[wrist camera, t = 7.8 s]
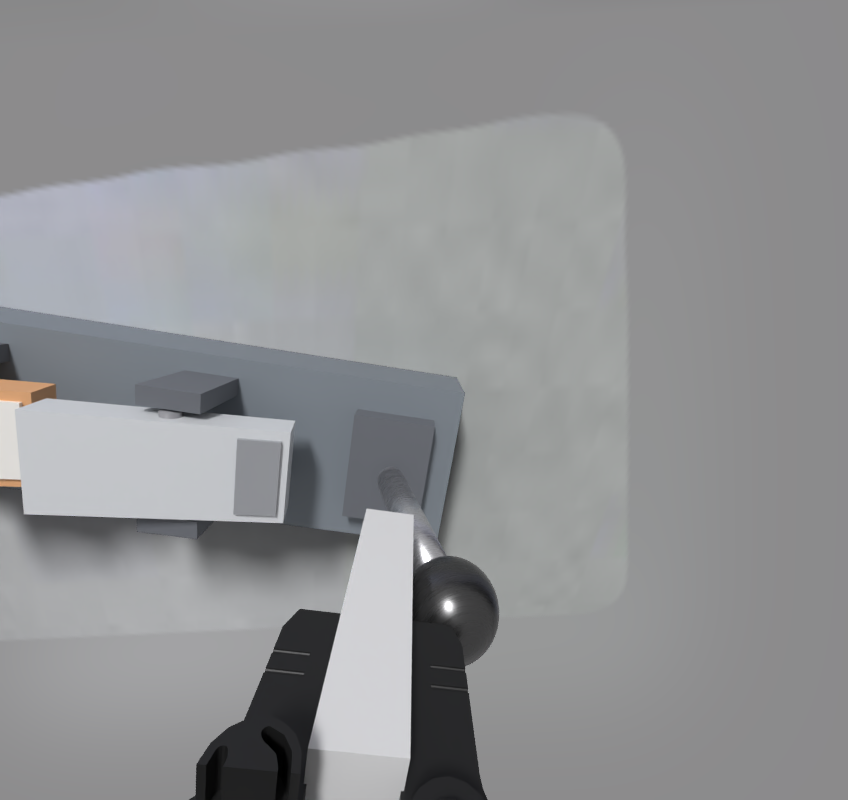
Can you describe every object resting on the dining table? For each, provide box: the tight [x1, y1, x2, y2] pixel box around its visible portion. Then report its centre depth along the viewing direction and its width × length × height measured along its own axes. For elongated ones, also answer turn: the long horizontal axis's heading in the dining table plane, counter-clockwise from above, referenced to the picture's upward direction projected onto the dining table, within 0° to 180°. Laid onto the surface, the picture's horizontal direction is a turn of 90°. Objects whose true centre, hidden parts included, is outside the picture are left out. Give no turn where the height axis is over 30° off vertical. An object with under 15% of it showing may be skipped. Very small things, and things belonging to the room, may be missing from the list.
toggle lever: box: [377, 467, 499, 666], centre depth 13 cm, size 3×3×9 cm
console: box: [0, 307, 465, 539], centre depth 19 cm, size 32×8×7 cm, turn 81°
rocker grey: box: [15, 398, 295, 523], centre depth 15 cm, size 9×4×2 cm, turn 81°
